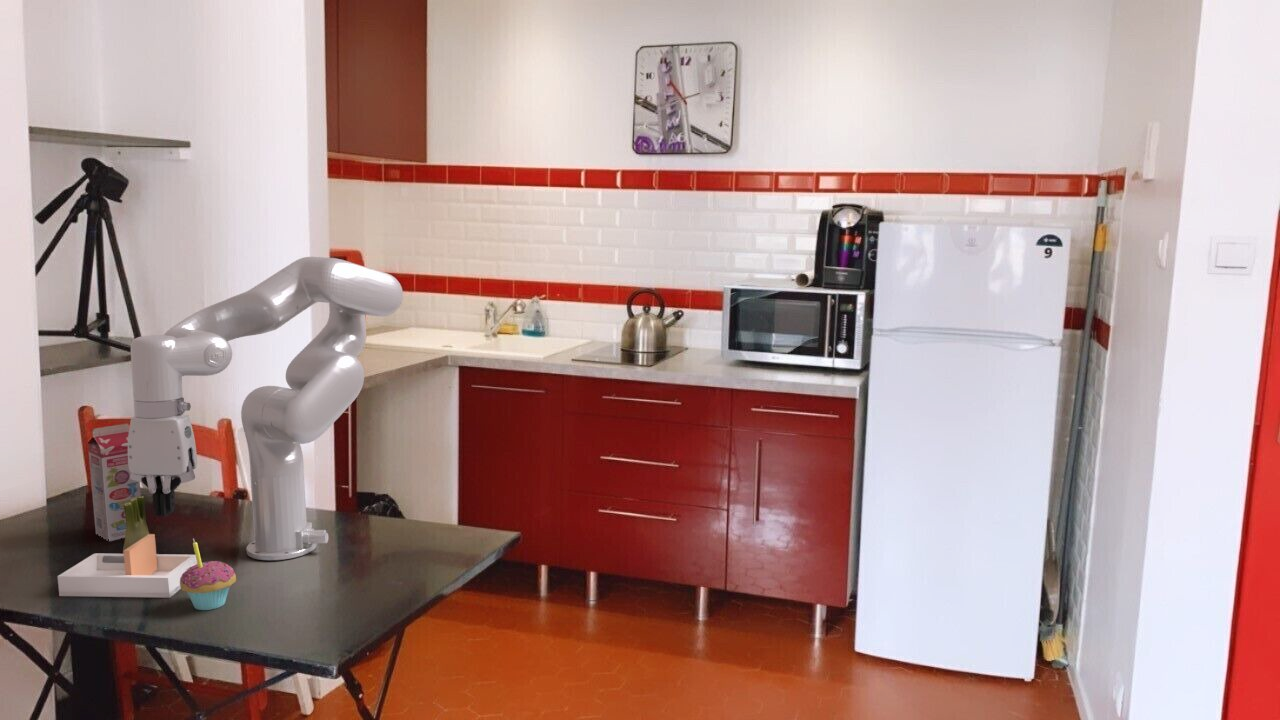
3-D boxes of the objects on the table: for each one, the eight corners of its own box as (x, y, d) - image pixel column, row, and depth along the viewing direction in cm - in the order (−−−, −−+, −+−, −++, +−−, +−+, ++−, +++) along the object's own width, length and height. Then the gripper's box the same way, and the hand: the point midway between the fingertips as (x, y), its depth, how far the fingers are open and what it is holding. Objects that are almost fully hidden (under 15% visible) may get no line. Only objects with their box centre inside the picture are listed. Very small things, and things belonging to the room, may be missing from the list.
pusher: (157, 569, 181) (154, 534, 180) (132, 587, 173) (129, 550, 172) (119, 569, 181) (115, 533, 180) (92, 587, 173) (88, 550, 172)
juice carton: (95, 533, 203) (86, 426, 200) (130, 525, 208) (121, 420, 204) (108, 541, 199) (98, 431, 195) (143, 533, 204) (135, 426, 200)
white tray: (200, 573, 182) (198, 554, 182) (169, 597, 171) (168, 577, 171) (96, 571, 183) (94, 553, 182) (59, 595, 172) (57, 576, 171)
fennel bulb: (145, 554, 192) (140, 493, 190) (162, 559, 189) (157, 496, 187) (116, 564, 187) (111, 501, 185) (133, 568, 184) (127, 505, 182)
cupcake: (202, 619, 163) (197, 547, 161) (170, 607, 167) (164, 537, 165) (248, 601, 170) (243, 532, 168) (216, 590, 174) (211, 523, 172)
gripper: (212, 405, 175) (217, 508, 178) (127, 403, 175) (133, 506, 178) (191, 414, 168) (197, 521, 170) (103, 412, 168) (109, 519, 171)
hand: (164, 513), depth 174 cm, fingers closed
